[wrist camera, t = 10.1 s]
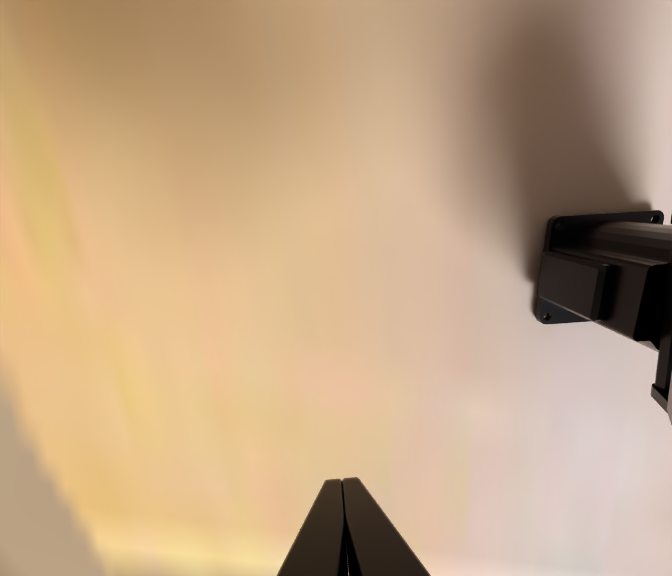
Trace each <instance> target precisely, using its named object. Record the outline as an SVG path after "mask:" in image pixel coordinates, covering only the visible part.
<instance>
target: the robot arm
mask: <svg viewBox="0 0 672 576" xmlns="http://www.w3.org/2000/svg"><path fill="white" fill-rule="evenodd" d="M652 217H653V219H652V221H651V218H652ZM663 220H664V214H663V212H661V211H659V210H642V211H625V212H609V213H593V214H577V215H561V216H554V217H552V218H551V219H550V220H549V221H548V223H547V229H546V236H545V244H544V252H543V255H542V262H541V270H540V278H539V286H538V299H537V307H536V319H537V320H538V321H539V322H541V323H543V324H558V323H572V322H586V321H593V322H595V323H597V324H599V325H601V326H603V327H606V328H608V329H610V330H612V331H614V332H616V333H618V334H621V335H623V336H625V337H627V338H629V339H631V340H634V341H636V342H638V343H640V344H642V345H644V346H647V347H649V348H651V349H653V350H655V351H657V352H659V355H658V363H657V371H656V380H655V383H654V384H652V388H651V396H652V397H653V398H654V399H655V400H656V401H657V403H658V404H659V405H660V406H661V407H662V408H663V409H664V410H665V411H666V412H667V413H668V415H669V418H670V421H671V424H672V225H663ZM558 222H560V225H559V227H558V228H556V224H557V223H558ZM671 224H672V215H671ZM546 313H547V316H546V317H545V318H544V315H545V314H546ZM342 489H343V490H342ZM347 558H348V560H347ZM348 571H349V576H431V575H430V574H429V572H428V571H427V570H426V568H425V567H424V566H423V564H422V563H421V562H420V560H419V559H418V558H417V556H416V555H415V554H414V552H413V551H412V550H411V548H410V547H409V545H408V544H407V543H406V541H405V540H404V539H403V537H402V536H401V535H400V533H399V532H398V531H397V529H396V528H395V527H394V525H393V524H392V523H391V521H390V520H389V518H388V517H387V516H386V514H385V513H384V512H383V510H382V509H381V508H380V506H379V505H378V504H377V502H376V501H375V500H374V498H373V497H372V496H371V494H370V493H369V491H368V490H367V489H366V487H365V486H364V485H363V483H362V482H361V481H360V479H359V478H357V477H353V478H344V479H343V480H342V481H341V479H330V480H326V481H325V482H324V484H323V486H322V488H321V490H320V492H319V494H318V496H317V498H316V500H315V501H314V503H313V505H312V507H311V509H310V511H309V513H308V515H307V517H306V519H305V521H304V523H303V525H302V527H301V529H300V531H299V533H298V535H297V537H296V539H295V541H294V543H293V545H292V547H291V549H290V550H289V552H288V554H287V556H286V558H285V560H284V562H283V564H282V566H281V568H280V570H279V572H278V574H277V576H348Z"/></svg>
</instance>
